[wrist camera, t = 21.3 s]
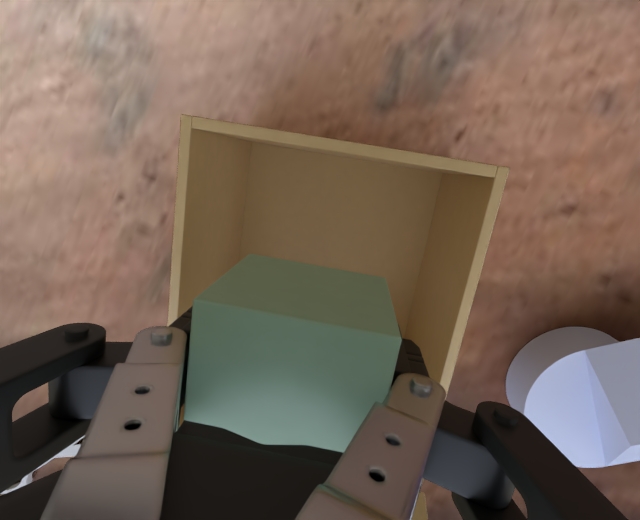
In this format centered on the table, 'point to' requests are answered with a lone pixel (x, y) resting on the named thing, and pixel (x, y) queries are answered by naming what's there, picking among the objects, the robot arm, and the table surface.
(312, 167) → the carton
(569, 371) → the wedge on round base
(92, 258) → the table surface
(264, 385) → the block
